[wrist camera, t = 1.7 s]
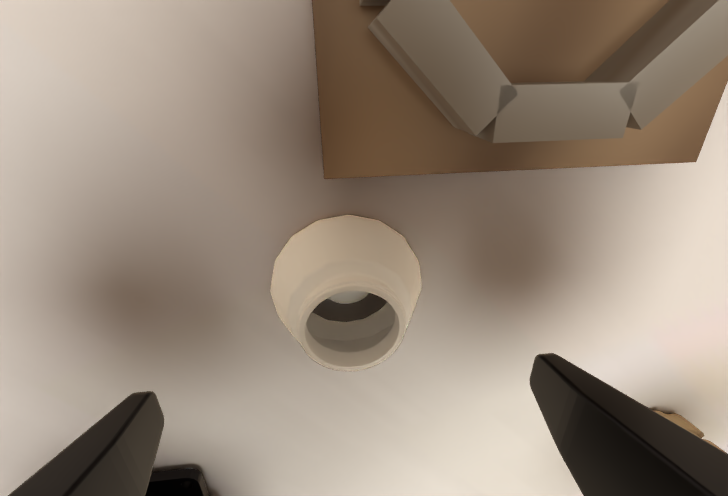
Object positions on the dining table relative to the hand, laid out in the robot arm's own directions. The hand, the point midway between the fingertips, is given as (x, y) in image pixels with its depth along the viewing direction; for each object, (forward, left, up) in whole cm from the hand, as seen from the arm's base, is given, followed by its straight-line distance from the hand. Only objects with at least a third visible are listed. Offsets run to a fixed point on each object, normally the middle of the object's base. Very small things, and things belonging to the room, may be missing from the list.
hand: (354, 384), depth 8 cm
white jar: (0, 0, -5) cm, 5 cm away
